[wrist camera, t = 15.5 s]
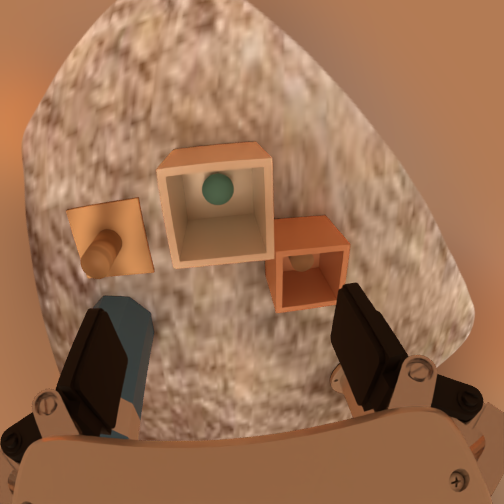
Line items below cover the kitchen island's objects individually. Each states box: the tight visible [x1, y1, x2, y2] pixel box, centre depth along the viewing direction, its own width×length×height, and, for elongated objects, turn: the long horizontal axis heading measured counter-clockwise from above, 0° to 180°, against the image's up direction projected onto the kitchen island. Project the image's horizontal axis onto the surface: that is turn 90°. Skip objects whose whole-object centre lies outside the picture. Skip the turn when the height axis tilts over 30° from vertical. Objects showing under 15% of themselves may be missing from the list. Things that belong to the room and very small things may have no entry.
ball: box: [202, 173, 234, 205], centre depth 27 cm, size 3×3×3 cm
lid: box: [66, 197, 154, 279], centre depth 28 cm, size 9×9×6 cm
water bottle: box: [93, 296, 154, 440], centre depth 25 cm, size 9×9×25 cm
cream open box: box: [156, 141, 274, 269], centre depth 25 cm, size 8×8×9 cm
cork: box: [288, 254, 314, 272], centre depth 31 cm, size 2×2×3 cm
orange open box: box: [265, 215, 350, 313], centre depth 30 cm, size 7×7×7 cm
